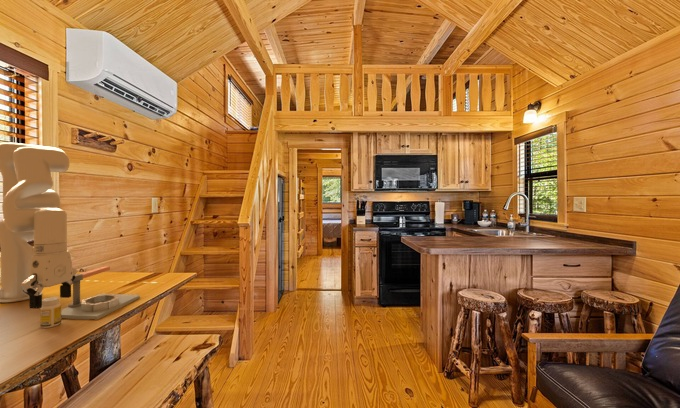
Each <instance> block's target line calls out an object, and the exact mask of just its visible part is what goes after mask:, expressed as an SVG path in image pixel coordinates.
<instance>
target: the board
mask: <svg viewBox="0 0 680 408" xmlns="http://www.w3.org/2000/svg"><path fill="white" fill-rule="evenodd" d="M105 294H106V293H99V294H97V295H95V296H98V295H105ZM111 294H112V295H118V305H117V306H115V307H113V308H110V309H107V310H102V311H96V312H85V311H81V301H82V300H81V281H75V282H73V284H72V302H71V303H68V306H67V307H65V308H61V319H62V318H68V319H67V320H69V318H70V320H89V319H95V320H94V321H97V319H98V320H99V319H101V318H103V317H105V316H107V315H109V314H111V313H113V312H115V311H118V310H119V309H122V307H125V306H126V305H129V304H130V303H132V302H135V301H137V300H138V299H140V298H141V297H140V294H117V293H115V294H114V293H111Z"/></svg>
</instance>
